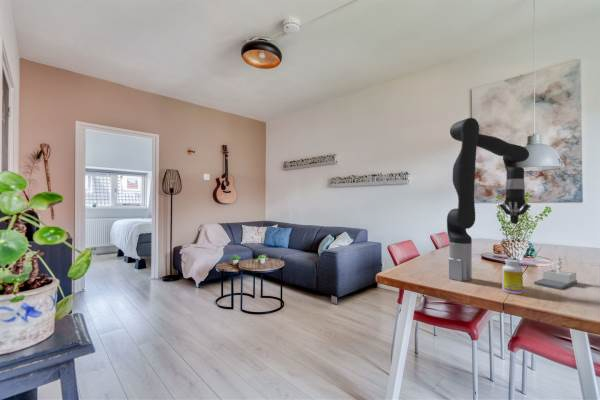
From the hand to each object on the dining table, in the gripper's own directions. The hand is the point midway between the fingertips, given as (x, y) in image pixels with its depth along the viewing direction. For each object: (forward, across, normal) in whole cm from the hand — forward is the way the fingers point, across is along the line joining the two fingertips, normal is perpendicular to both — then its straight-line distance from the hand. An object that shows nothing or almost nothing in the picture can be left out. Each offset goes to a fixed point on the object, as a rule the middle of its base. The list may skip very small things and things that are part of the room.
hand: (514, 223), depth 141 cm
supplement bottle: (+26, +12, -30) cm, 42 cm away
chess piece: (+24, +16, +5) cm, 30 cm away
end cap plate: (+26, +16, 0) cm, 30 cm away
